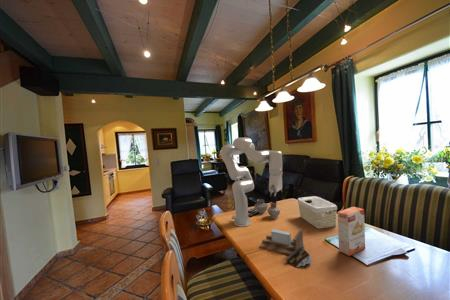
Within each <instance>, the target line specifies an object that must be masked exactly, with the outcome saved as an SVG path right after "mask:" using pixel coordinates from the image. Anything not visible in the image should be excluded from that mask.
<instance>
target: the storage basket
mask: <svg viewBox="0 0 450 300" xmlns="http://www.w3.org/2000/svg"><path fill="white" fill-rule="evenodd" d="M307 201H311V202H307ZM297 203H298V204H297V205H298V209H299V217H301V218H302V219H303V220H304V221H306V222H307V223H308V224H310V225H311V226H313V227H315V228H316V229H324V228H325V229H326V228H327V229H328V228H333V227H336V226H337V218H338V211H337V210H338V206H337V205H336V204H335V203H333V202H330V201H329V200H327V199H324V198H321V197H320V196H315V195H314V196H313V195H312V196H304V197H298V198H297Z"/></svg>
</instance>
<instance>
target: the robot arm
mask: <svg viewBox="0 0 450 300" xmlns="http://www.w3.org/2000/svg"><path fill="white" fill-rule="evenodd" d="M255 148H256V146H255V144H254V143H253V141H252V139H251V138H249V137H247V136H246V137H237V138H235V139H233V141H232V143H231V144H224V145H223V146H222V147H221V149H220V156H221V158H222V160H223V162H224V164H225V167H226V169H227V173H228V175H229V177H230V179H231V180H233V181H234V182H233V183H232V185H231V189H232V194H233V199H234V211H235V214H234V215H232V216H231V220H233V224H234V226H237V227H240V228H241V227H248V226H250V225H251V223H252V222H251V220H250V219H249V206H248V205H249V203H248V202H249V201H248V197H247V195H246V193H249V192H252V191H253V190H254V189H255V184H254V180H253V177H252V175H251V173H250V170H249V168H247V166H246V165H245V166H244V165H241V166H239V165H238V163H237V162H238V161H236V159H235V158H234V157H233V156H237V155H242V154H245V156H246V157H247V160H249V161H251V162H253V163H255V164H265V163H268V166H269V167H268V171H269V176H268V177H269V179H268V180H269V181H268V192H269V196H270V202H271V203H276V202H277V199H283V153H282V151H280V150H270V149H267V150H256V149H255Z"/></svg>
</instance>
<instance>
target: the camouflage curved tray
mask: <svg viewBox="0 0 450 300" xmlns="http://www.w3.org/2000/svg"><path fill="white" fill-rule="evenodd" d="M285 262H287V263H290V264H291V265H292V266H294V268H300V267H303V268H306V265H312V256H311V255H310V253H309V252H308V251H306V249H305V245H304V243H303V245H301V246H300V247H299V248H297V249H296V250H295V251H294V252H293V253H292V254H291V255H290V256H289V255H287V256H286V258H285Z"/></svg>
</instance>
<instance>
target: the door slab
mask: <svg viewBox="0 0 450 300" xmlns="http://www.w3.org/2000/svg"><path fill="white" fill-rule="evenodd" d="M270 233H271V237H272V242H275V243H279V244H283V245H287V246H291V240H292V237H291V236H292V234H291V232H290V231H284V230H279V229H275V228H273V229H272V230H270Z"/></svg>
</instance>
